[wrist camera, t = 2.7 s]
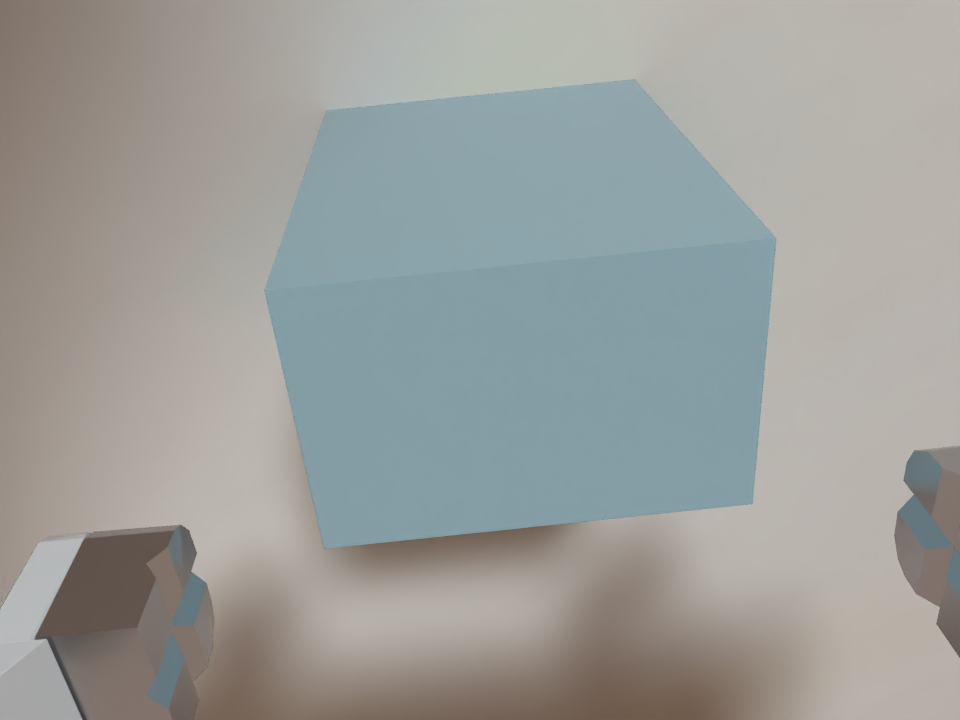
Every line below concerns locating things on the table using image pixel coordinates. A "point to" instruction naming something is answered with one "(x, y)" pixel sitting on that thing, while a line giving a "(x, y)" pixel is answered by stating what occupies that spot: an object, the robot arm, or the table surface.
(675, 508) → the block
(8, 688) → the robot arm
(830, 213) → the table surface
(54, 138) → the table surface
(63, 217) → the table surface
